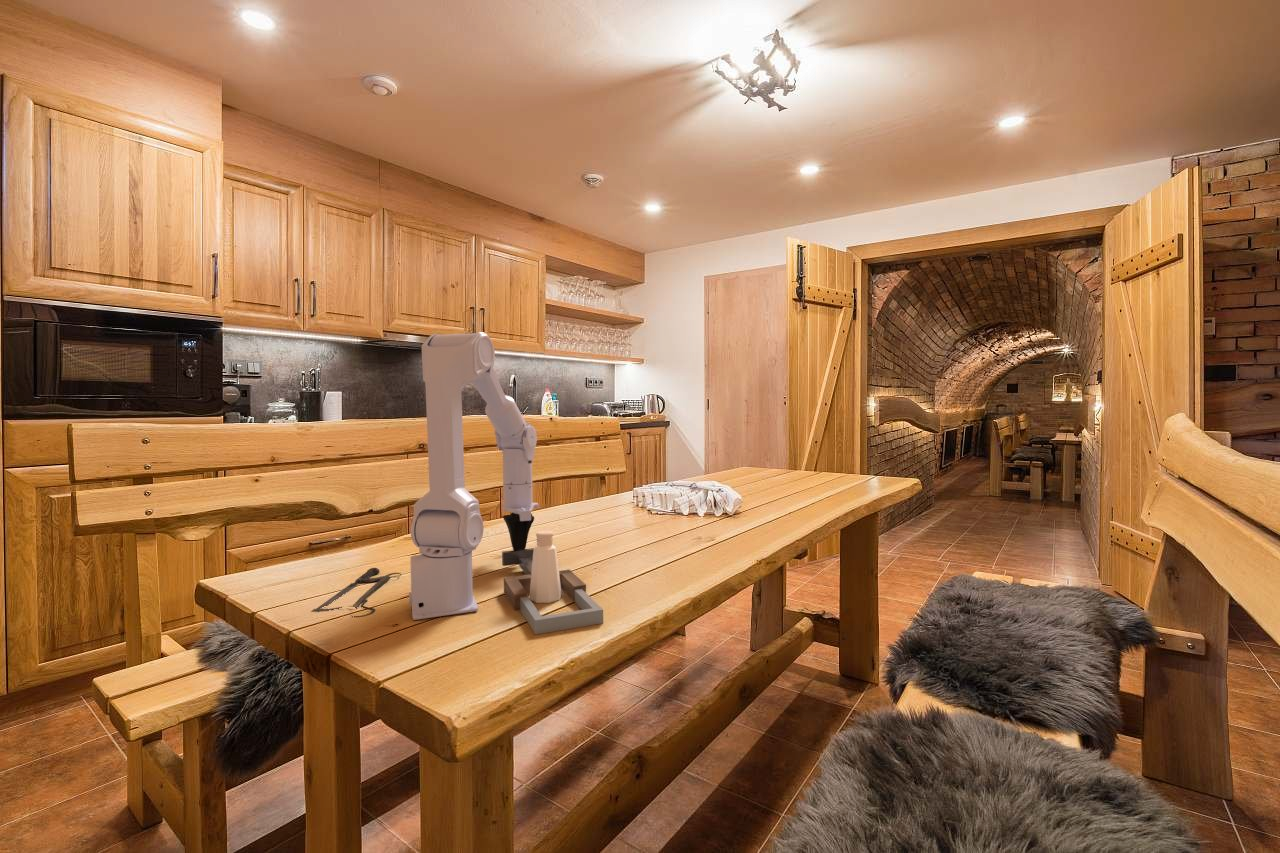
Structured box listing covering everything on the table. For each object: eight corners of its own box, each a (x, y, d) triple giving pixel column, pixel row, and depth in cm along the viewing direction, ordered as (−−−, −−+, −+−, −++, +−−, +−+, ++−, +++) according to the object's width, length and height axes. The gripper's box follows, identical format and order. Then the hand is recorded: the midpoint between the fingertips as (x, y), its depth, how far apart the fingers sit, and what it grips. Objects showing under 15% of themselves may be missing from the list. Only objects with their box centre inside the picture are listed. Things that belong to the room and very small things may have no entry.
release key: (516, 587, 97) (516, 570, 97) (502, 566, 110) (501, 551, 109) (562, 580, 100) (562, 565, 100) (543, 561, 113) (543, 547, 113)
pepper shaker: (522, 601, 93) (521, 534, 93) (541, 591, 98) (540, 527, 98) (550, 605, 91) (549, 536, 91) (568, 595, 96) (567, 529, 96)
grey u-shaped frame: (535, 634, 79) (535, 620, 79) (520, 610, 89) (520, 597, 89) (603, 623, 83) (603, 609, 83) (581, 600, 93) (581, 588, 93)
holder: (514, 610, 89) (514, 594, 89) (504, 592, 98) (503, 577, 98) (586, 599, 93) (586, 584, 93) (569, 583, 102) (569, 569, 102)
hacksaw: (370, 573, 111) (370, 566, 111) (424, 573, 111) (423, 565, 111) (299, 620, 87) (299, 610, 86) (368, 619, 87) (368, 609, 87)
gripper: (546, 486, 109) (547, 556, 109) (529, 477, 122) (530, 540, 123) (509, 488, 106) (510, 561, 107) (496, 479, 119) (497, 544, 120)
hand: (519, 550), depth 114 cm, fingers closed
